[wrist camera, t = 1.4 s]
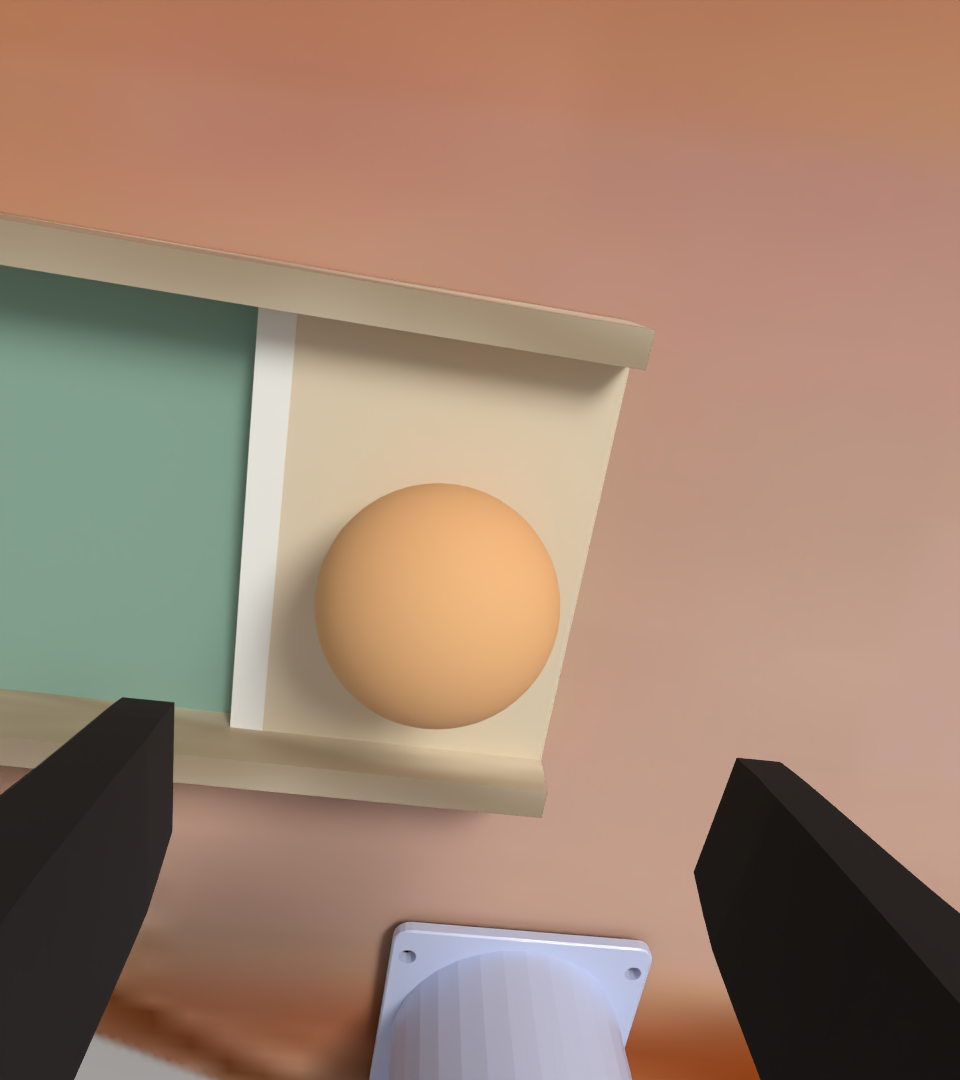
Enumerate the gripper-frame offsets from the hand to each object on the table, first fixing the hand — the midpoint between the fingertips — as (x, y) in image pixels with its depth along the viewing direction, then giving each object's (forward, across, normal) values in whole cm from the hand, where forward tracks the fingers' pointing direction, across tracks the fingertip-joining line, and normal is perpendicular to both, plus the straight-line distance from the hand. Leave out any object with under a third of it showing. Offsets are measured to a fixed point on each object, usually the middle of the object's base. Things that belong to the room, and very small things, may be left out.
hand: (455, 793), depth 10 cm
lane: (+10, +5, +1) cm, 11 cm away
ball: (+9, 0, +1) cm, 9 cm away
